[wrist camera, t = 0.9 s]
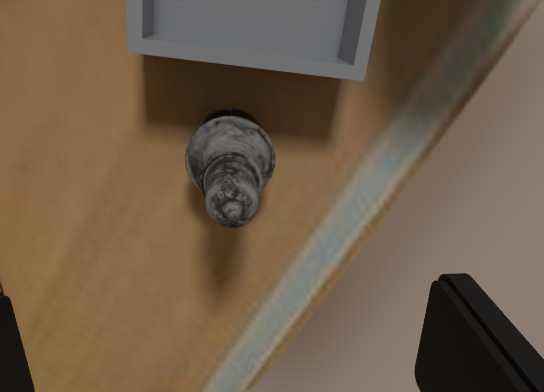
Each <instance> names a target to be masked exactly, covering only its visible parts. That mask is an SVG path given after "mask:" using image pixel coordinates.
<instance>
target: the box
mask: <svg viewBox="0 0 544 392" xmlns="http://www.w3.org/2000/svg"><path fill="white" fill-rule="evenodd" d="M380 2H381V0H127V52H129V53H137V54H145V55H153V56H161V57H170V58H178V59H186V60H194V61H202V62H210V63H219V64H227V65H235V66H243V67H251V68H259V69H268V70H276V71H284V72H292V73H300V74H308V75H317V76H325V77H333V78H341V79H349V80H358V81H364V79H365V74H366V69H367V64H368V60H369V55H370V50H371V45H372V40H373V35H374V31H375V26H376V21H377V16H378V11H379V6H380Z"/></svg>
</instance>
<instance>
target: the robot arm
mask: <svg viewBox="0 0 544 392" xmlns="http://www.w3.org/2000/svg"><path fill="white" fill-rule="evenodd" d="M415 378H416V382H417V385H418V387H419V389H420V391H421V392H544V359H543V358H542V357H541V356H540V355H539V354H538V352H537V351H536V350H535V349H534V348H533V347H532V345H531V344H530V343H529V342H528V341H527V340H526V339H525V338H524V336H523V335H522V334H521V333H520V332H519V331H518V329H517V328H515V326H514V325H513V324H512V323H511V322H510V320H509V319H508V318H507V317H506V316H505V315H504V314H503V312H502V311H501V310H500V309H499V308H498V307H497V306H496V304H495V303H494V302H493V301H492V300H491V299H490V298H489V297H488V295H487V294H486V293H485V292H484V291H483V290H482V288H481V287H480V286H479V285H478V284H477V283H476V282H475V280H473V278H472V277H471V276H470V275H468V274H466V273H461V274H442V275H440V277H439V278H438V281H434V282H433V283H432V285H431V288H430V294H429V298H428V303H427V309H426V314H425V319H424V324H423V329H422V334H421V339H420V344H419V349H418V354H417V359H416V364H415ZM0 392H35V390H34V385H33V381H32V378H31V374H30V370H29V367H28V363H27V359H26V355H25V352H24V348H23V344H22V341H21V337H20V333H19V329H18V326H17V322H16V318H15V314H14V311H13V307H12V303H11V300H10V298H9V297H7V296H3V295H2V293H1V288H0Z"/></svg>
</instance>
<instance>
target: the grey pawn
mask: <svg viewBox="0 0 544 392" xmlns="http://www.w3.org/2000/svg"><path fill="white" fill-rule="evenodd" d="M185 163H186V169H187V172H188V175H189V177H190V179H191V180H192V182H193V183H194V185H195V186H196V187H197V188H198V189H199V190H200V191H201V192H202V193H203V195H204V196H205V207H206V210H207V213H208V215H209V216H210V218H211V219H212V220H213V221H214V222H215V223H216V224H218V225H220V226H222V227H226V228H237V227H241V226H243V225H245V224H247V223H248V222H250V221H251V220H252V219H253V217H254V216H255V214H256V212H257V209H258V206H259V196H258V195H259V194H260V191H261V190H262V189H263V188H264V187H265V186H266V184H267V183H268V181H269V180H270V178H271V177H272V173H273V170H274V167H275V152H274V148H273V144H272V142H271V140H270V139H269V137H268V135H267V134H266V133H265V132H264V131H263V129H262V127H261V126H260V124H259V123H258V122H257V121H256V120H255V119H254V118H253V117H252V116H251V115H249V114H247V113H246V112H243V111H240V110H236V109H223V110H219V111H215V112H214V113H212V114H210V115H208V116H207V117H206V118H205V119H204V120H203V121H202V122H201V123H200V124H199V126H198V128H197V130H196V132H195V133H194V134H193V135H192V137H191V139H190V141H189V143H188V145H187V149H186V154H185Z"/></svg>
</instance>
